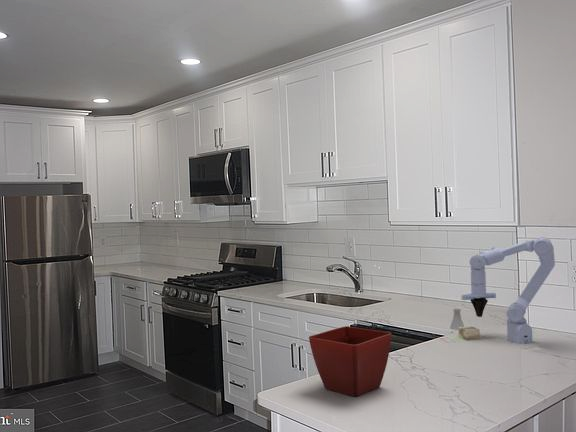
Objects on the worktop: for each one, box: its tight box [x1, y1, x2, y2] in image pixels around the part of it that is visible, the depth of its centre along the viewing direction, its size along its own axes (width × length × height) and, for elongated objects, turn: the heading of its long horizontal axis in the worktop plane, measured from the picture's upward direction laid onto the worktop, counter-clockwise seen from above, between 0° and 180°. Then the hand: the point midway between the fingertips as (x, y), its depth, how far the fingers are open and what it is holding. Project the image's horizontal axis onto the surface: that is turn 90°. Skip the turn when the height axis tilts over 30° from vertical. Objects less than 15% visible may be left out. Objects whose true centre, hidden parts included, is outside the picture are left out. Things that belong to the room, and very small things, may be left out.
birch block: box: [458, 325, 481, 341], centre depth 221 cm, size 6×6×4 cm
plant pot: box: [308, 325, 392, 397], centre depth 169 cm, size 19×19×17 cm
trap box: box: [439, 334, 489, 343], centre depth 221 cm, size 7×18×2 cm, turn 102°
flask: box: [449, 308, 465, 331], centre depth 240 cm, size 7×7×10 cm
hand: (479, 316), depth 222 cm, fingers closed
